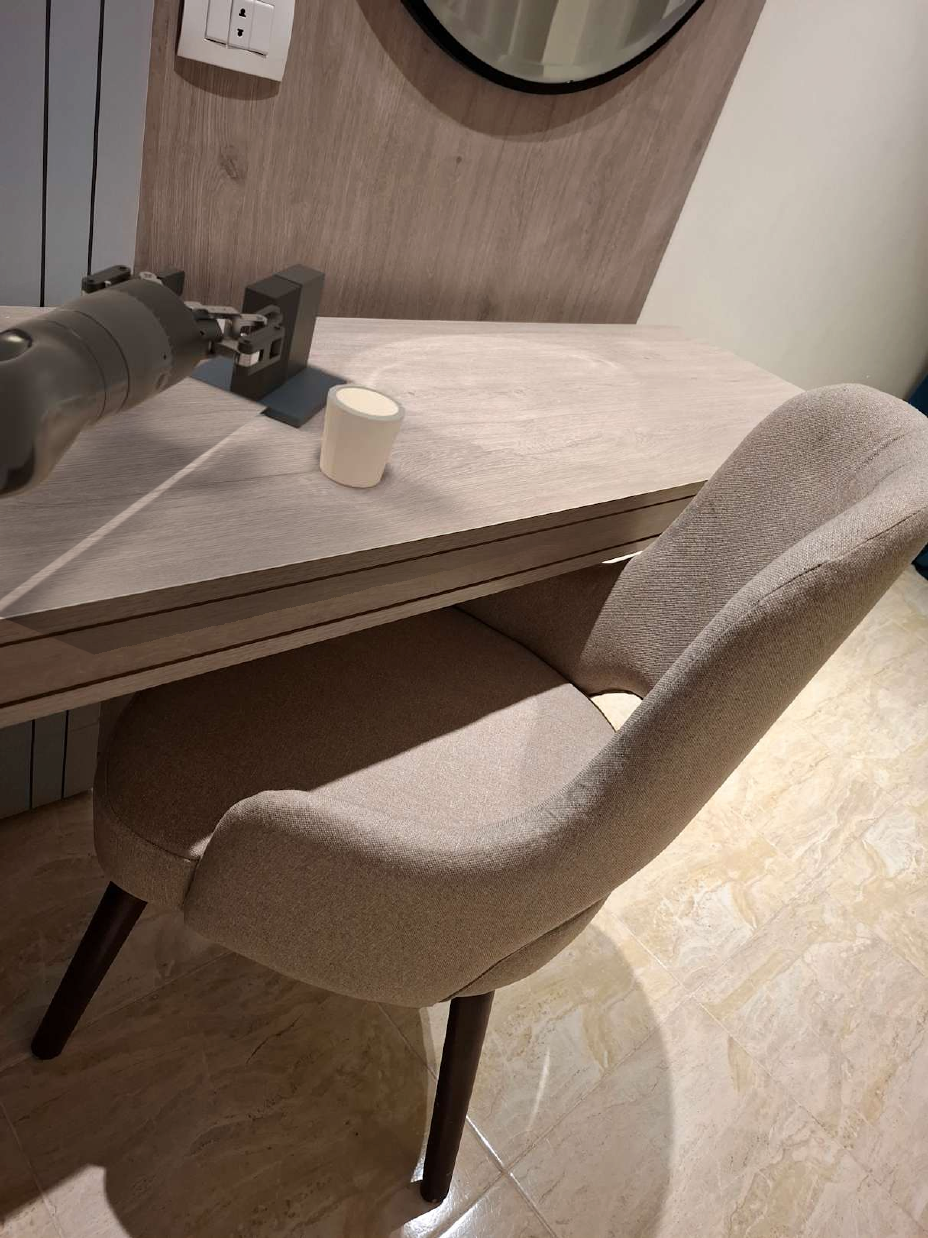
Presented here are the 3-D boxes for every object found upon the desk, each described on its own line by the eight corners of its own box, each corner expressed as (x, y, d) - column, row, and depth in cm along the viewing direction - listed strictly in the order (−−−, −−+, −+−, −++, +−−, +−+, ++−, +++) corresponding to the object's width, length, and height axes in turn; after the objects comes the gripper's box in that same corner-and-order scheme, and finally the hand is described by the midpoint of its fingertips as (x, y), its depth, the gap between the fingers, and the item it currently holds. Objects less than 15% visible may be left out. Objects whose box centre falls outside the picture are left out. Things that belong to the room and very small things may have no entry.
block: (229, 390, 86) (245, 286, 80) (256, 373, 91) (273, 274, 85) (258, 401, 86) (276, 298, 80) (283, 384, 91) (302, 285, 85)
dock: (182, 383, 87) (197, 268, 80) (242, 349, 97) (259, 246, 91) (298, 428, 86) (321, 315, 80) (345, 389, 97) (368, 288, 91)
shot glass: (401, 480, 83) (421, 411, 80) (354, 498, 78) (373, 425, 74) (345, 447, 86) (362, 378, 82) (296, 462, 80) (311, 389, 77)
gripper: (222, 332, 59) (315, 284, 72) (23, 255, 59) (152, 222, 73) (207, 435, 63) (298, 372, 76) (22, 362, 64) (144, 312, 77)
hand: (227, 299), depth 75 cm, fingers open, 8 cm apart
